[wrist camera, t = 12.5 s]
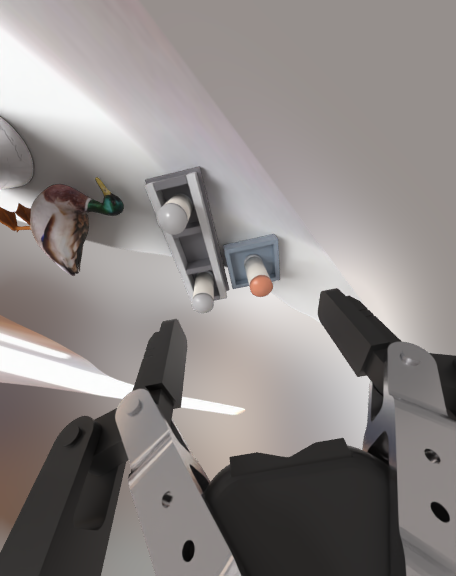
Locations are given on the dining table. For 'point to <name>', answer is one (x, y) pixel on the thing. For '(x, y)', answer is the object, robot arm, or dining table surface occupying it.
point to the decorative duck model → (62, 221)
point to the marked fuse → (257, 276)
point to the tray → (241, 249)
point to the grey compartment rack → (191, 229)
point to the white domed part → (175, 214)
